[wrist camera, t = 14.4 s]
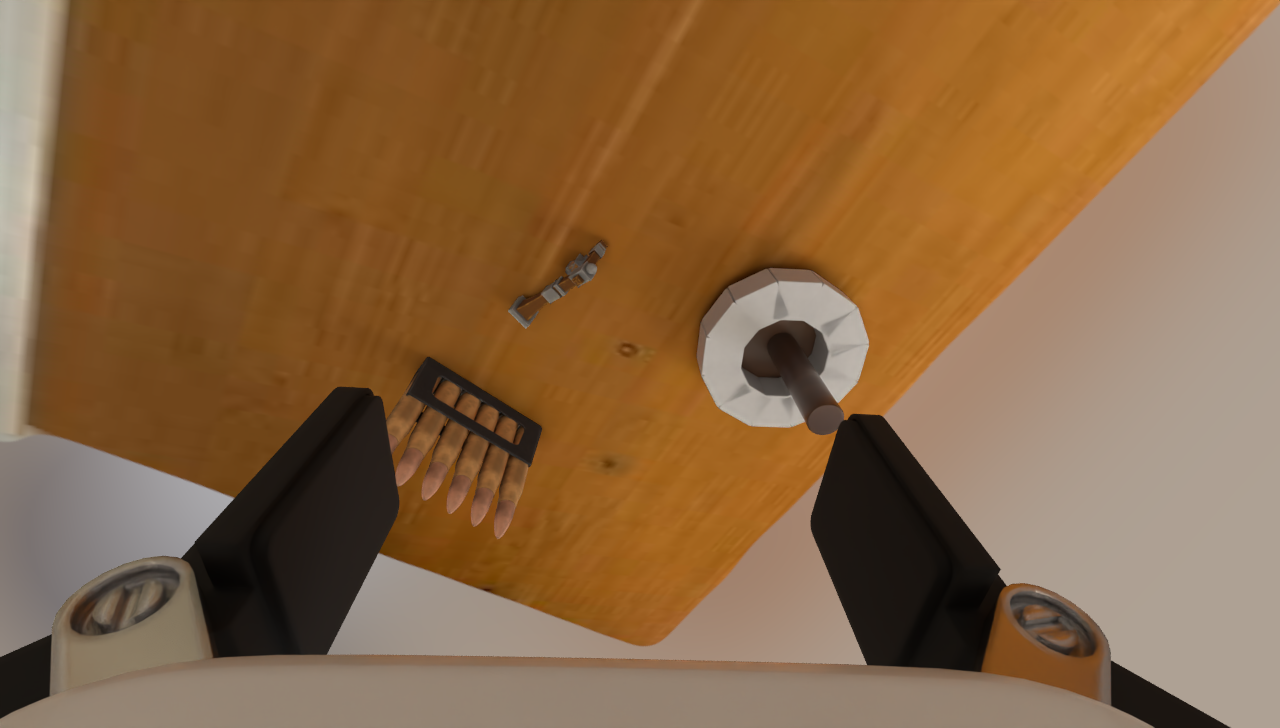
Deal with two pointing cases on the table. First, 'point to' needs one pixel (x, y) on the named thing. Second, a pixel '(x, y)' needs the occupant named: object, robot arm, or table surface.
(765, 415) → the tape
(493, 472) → the ammunition clip
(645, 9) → the table surface
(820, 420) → the stand
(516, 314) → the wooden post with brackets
